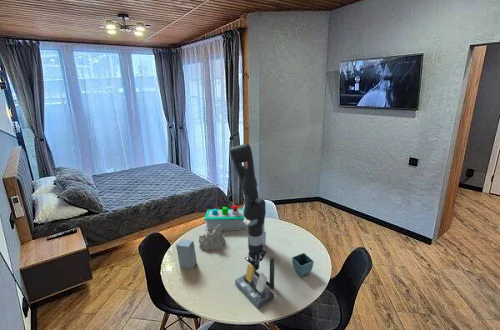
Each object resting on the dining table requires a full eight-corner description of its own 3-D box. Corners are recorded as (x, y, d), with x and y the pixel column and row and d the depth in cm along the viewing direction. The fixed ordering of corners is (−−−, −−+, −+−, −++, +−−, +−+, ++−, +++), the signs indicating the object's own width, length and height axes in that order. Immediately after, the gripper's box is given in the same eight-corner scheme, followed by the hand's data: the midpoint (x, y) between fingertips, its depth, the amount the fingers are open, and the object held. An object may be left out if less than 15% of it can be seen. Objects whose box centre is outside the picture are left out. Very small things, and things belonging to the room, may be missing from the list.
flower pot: (300, 280, 144) (301, 266, 141) (291, 270, 151) (291, 257, 149) (313, 274, 148) (314, 261, 145) (303, 265, 155) (304, 252, 153)
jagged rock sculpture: (227, 237, 185) (224, 218, 180) (219, 252, 170) (216, 231, 165) (206, 236, 189) (203, 217, 184) (196, 250, 174) (193, 230, 169)
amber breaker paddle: (247, 277, 141) (250, 263, 140) (252, 281, 138) (254, 267, 137) (245, 278, 140) (248, 264, 139) (249, 282, 137) (252, 268, 136)
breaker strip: (250, 276, 147) (250, 268, 146) (274, 299, 132) (274, 290, 130) (235, 284, 142) (235, 276, 140) (258, 308, 126) (258, 300, 125)
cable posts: (254, 269, 153) (253, 242, 148) (275, 288, 139) (275, 258, 133) (250, 270, 152) (250, 243, 146) (271, 290, 138) (271, 260, 132)
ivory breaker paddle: (258, 287, 134) (262, 273, 133) (263, 292, 131) (267, 277, 130) (255, 288, 133) (259, 273, 132) (260, 293, 130) (265, 278, 129)
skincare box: (197, 262, 159) (195, 239, 155) (191, 270, 153) (188, 246, 148) (184, 260, 162) (182, 237, 157) (178, 267, 155) (175, 244, 151)
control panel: (205, 202, 201) (245, 201, 202) (207, 221, 206) (245, 220, 207) (202, 211, 187) (245, 210, 187) (204, 232, 192) (245, 231, 192)
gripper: (261, 233, 141) (261, 260, 147) (240, 242, 134) (241, 270, 140) (270, 239, 136) (270, 267, 141) (249, 249, 128) (250, 278, 134)
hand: (256, 268), depth 140 cm, fingers closed
